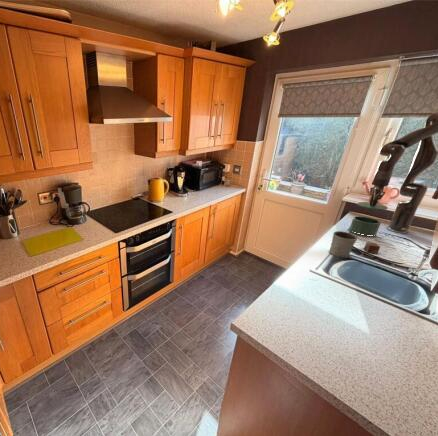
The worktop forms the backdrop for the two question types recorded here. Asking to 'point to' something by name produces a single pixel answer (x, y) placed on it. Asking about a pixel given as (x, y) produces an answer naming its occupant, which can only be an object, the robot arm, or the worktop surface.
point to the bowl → (370, 206)
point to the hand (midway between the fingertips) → (372, 204)
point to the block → (372, 247)
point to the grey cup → (342, 244)
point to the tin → (364, 226)
